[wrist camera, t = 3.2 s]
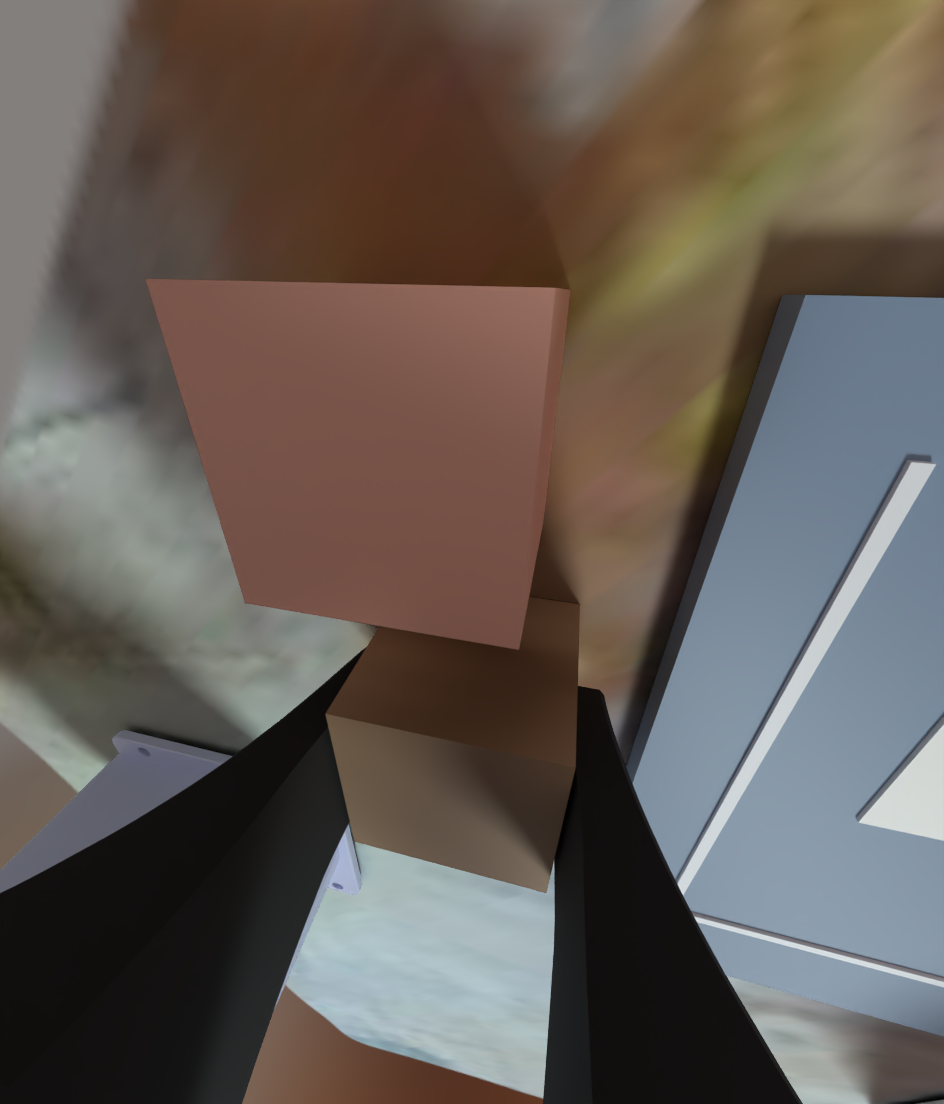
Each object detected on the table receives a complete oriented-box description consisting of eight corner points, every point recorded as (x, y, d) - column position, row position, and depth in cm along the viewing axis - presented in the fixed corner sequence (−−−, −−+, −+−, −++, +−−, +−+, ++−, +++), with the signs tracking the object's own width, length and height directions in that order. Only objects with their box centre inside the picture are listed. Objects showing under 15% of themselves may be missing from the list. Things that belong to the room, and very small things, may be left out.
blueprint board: (579, 907, 17) (579, 937, 16) (782, 294, 6) (808, 294, 6) (951, 1009, 14) (971, 1048, 14) (2180, 325, 4) (2531, 333, 3)
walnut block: (416, 694, 13) (354, 841, 9) (409, 578, 10) (325, 713, 7) (558, 722, 12) (546, 892, 8) (579, 604, 10) (575, 767, 6)
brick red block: (363, 495, 10) (245, 602, 6) (338, 284, 8) (144, 278, 4) (544, 516, 9) (518, 649, 6) (570, 289, 7) (554, 287, 4)
